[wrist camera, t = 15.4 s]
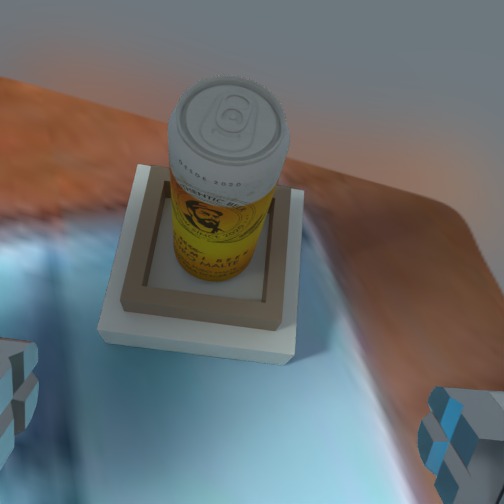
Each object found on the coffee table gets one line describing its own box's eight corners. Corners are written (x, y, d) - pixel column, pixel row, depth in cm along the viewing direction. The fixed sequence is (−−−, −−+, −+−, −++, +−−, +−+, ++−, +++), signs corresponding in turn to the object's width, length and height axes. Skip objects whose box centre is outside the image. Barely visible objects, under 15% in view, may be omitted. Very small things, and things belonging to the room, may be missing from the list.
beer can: (162, 272, 34) (148, 147, 20) (187, 205, 36) (189, 55, 23) (241, 295, 34) (279, 186, 20) (260, 226, 36) (305, 89, 23)
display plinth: (105, 343, 35) (89, 319, 29) (142, 190, 41) (134, 145, 35) (283, 365, 36) (302, 347, 30) (293, 213, 42) (311, 173, 36)
